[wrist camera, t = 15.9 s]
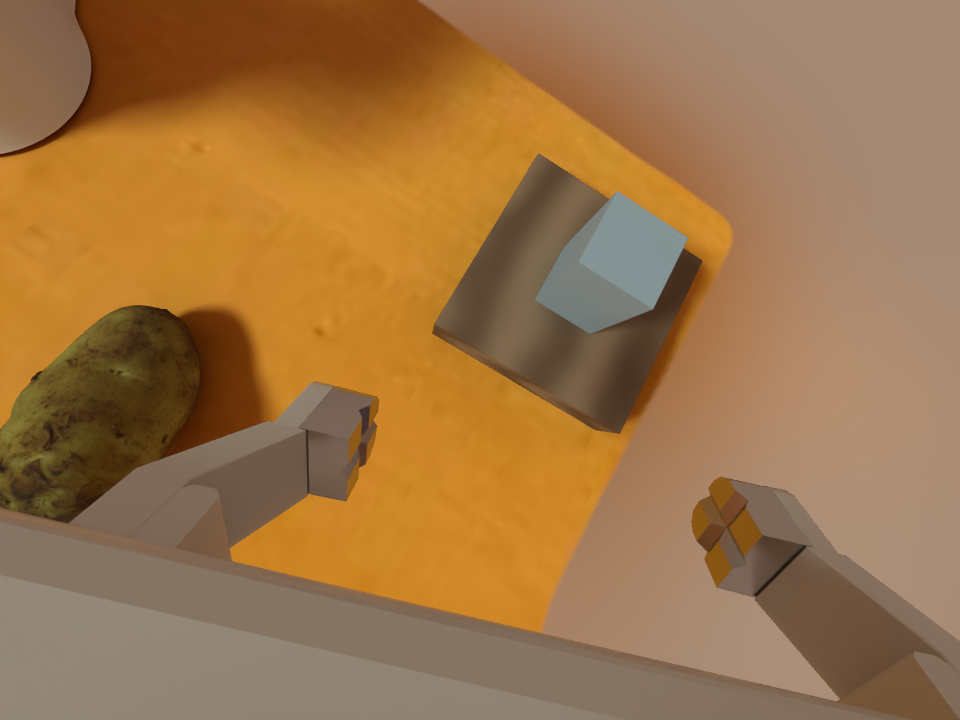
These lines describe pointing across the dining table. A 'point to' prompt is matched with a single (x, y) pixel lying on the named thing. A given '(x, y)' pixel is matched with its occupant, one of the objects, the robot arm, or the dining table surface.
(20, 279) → the dining table surface
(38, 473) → the potato
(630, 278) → the block
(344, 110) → the dining table surface
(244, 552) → the dining table surface
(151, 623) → the robot arm
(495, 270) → the plinth
